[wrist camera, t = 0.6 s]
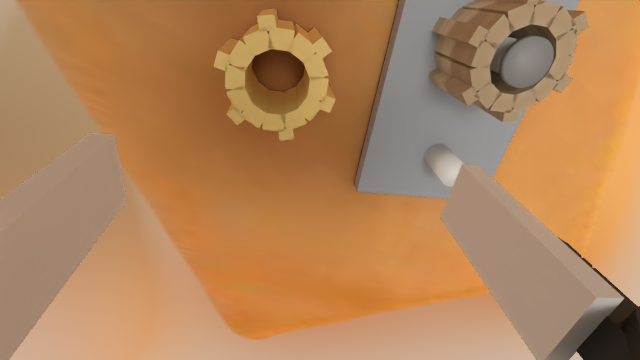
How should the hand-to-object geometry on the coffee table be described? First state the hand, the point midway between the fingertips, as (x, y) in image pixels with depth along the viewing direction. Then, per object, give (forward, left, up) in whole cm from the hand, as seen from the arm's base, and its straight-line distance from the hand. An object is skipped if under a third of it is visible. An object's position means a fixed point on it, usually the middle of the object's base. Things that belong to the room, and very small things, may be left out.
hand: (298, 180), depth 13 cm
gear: (-5, +15, -16) cm, 23 cm away
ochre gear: (-1, -1, -18) cm, 18 cm away
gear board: (0, +15, -18) cm, 23 cm away
